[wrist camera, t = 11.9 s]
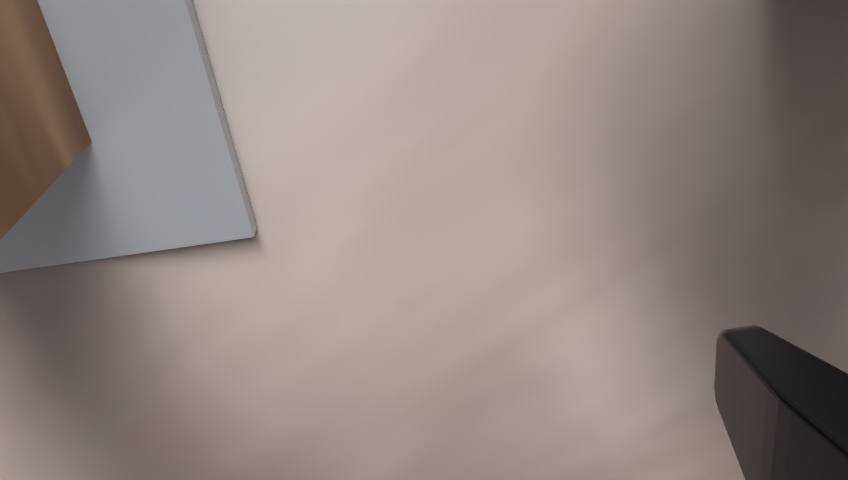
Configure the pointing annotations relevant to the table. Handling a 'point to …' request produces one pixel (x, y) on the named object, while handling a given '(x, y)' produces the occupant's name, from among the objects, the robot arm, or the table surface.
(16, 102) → the walnut block
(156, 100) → the coaster
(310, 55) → the table surface
